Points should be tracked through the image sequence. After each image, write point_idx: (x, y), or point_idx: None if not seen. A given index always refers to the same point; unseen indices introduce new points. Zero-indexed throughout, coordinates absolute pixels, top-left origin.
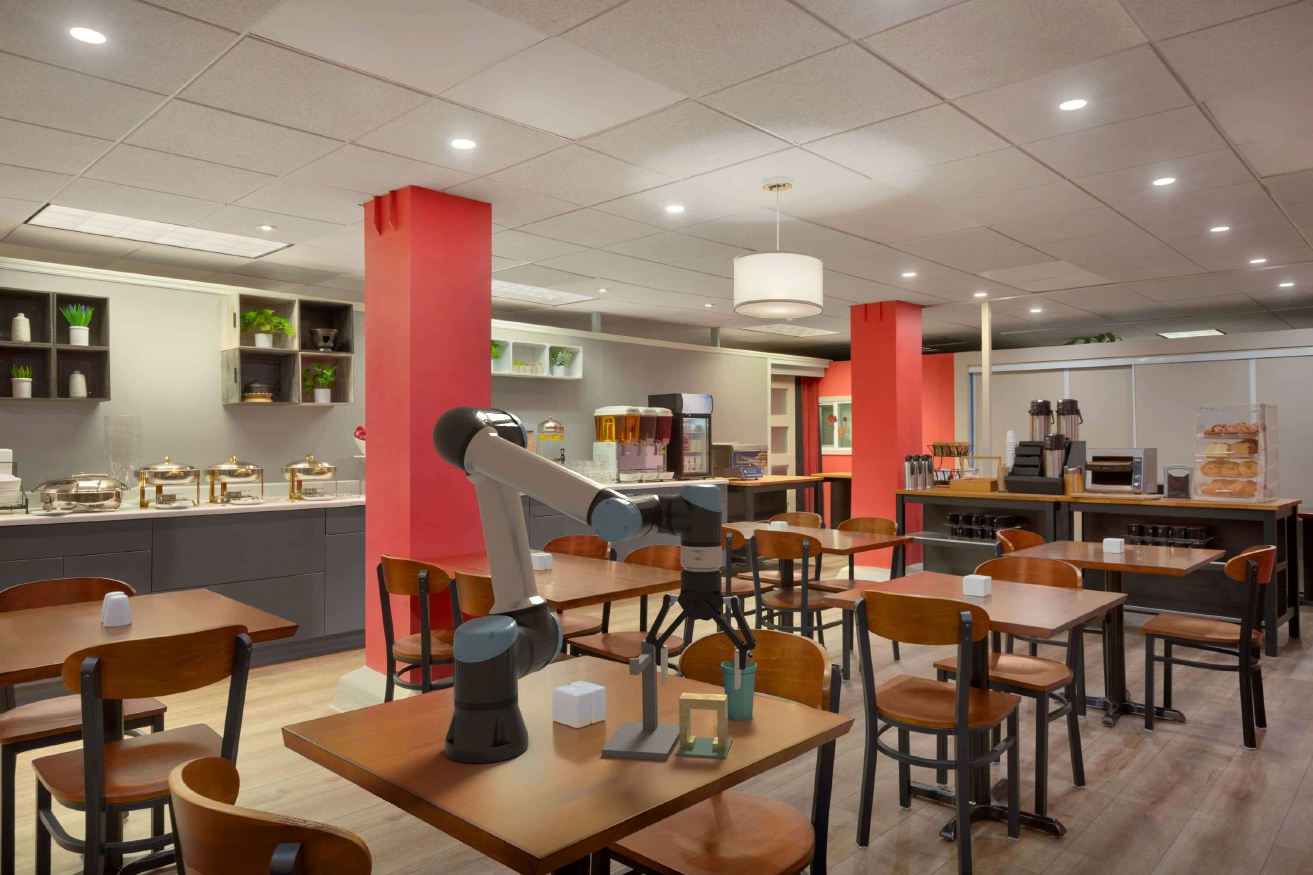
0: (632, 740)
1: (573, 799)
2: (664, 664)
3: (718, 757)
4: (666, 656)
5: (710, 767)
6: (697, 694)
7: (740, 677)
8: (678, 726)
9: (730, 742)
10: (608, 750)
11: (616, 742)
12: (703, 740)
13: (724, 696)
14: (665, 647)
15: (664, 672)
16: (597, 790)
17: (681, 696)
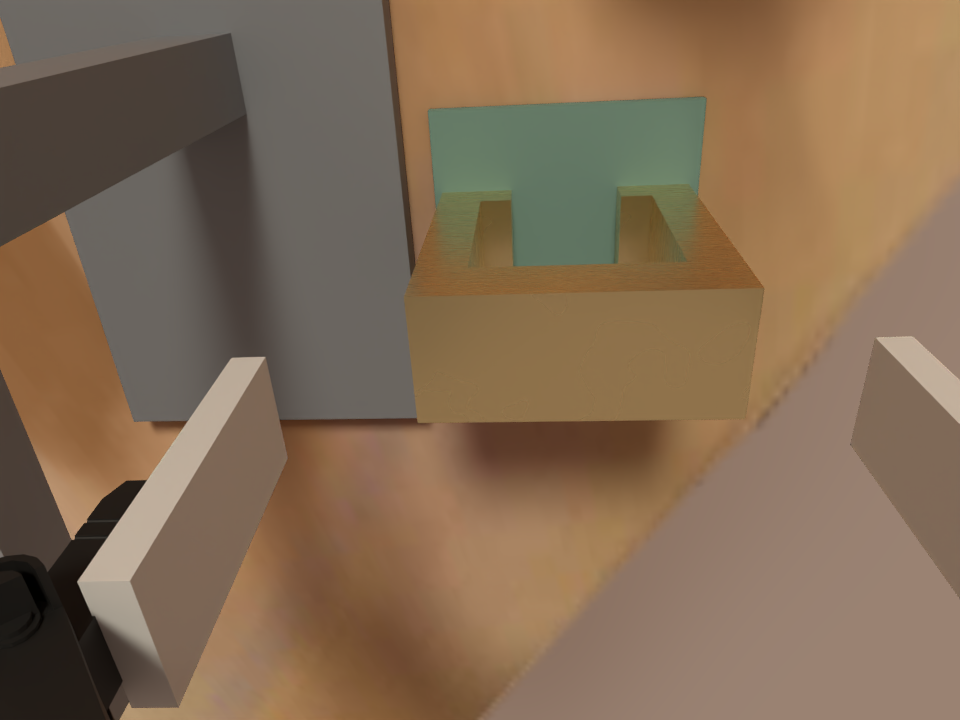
0: (205, 294)
1: (257, 698)
2: (236, 572)
3: None
4: (198, 553)
5: (623, 439)
6: (526, 318)
7: (947, 373)
8: (355, 7)
9: (698, 154)
10: (166, 419)
11: (148, 332)
12: (544, 151)
13: (740, 333)
14: (158, 666)
15: (258, 519)
16: (293, 647)
17: (422, 382)
